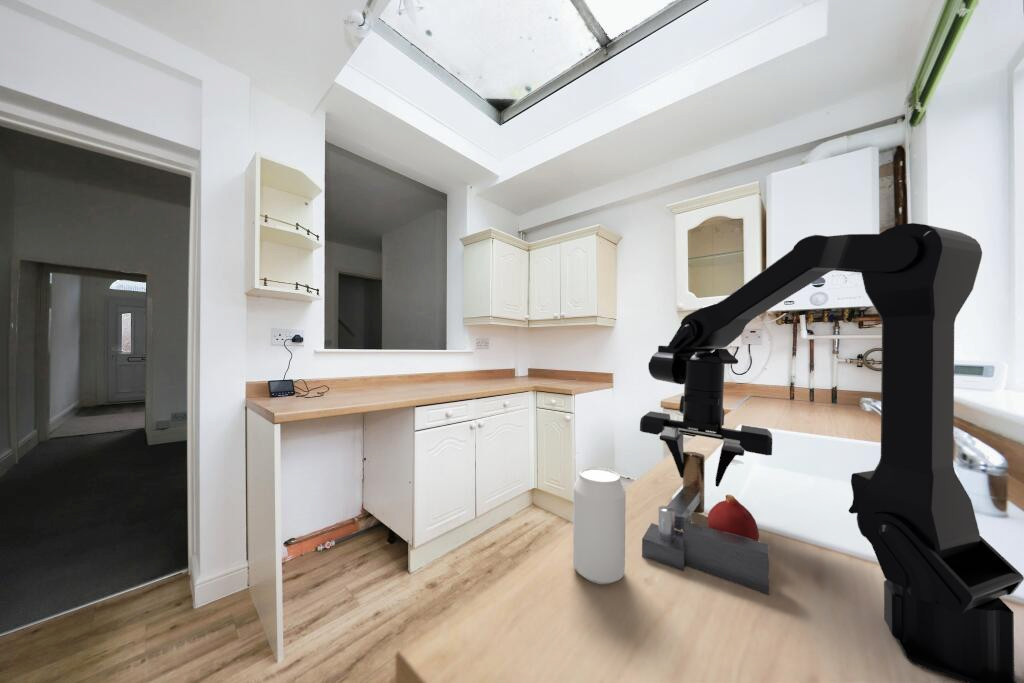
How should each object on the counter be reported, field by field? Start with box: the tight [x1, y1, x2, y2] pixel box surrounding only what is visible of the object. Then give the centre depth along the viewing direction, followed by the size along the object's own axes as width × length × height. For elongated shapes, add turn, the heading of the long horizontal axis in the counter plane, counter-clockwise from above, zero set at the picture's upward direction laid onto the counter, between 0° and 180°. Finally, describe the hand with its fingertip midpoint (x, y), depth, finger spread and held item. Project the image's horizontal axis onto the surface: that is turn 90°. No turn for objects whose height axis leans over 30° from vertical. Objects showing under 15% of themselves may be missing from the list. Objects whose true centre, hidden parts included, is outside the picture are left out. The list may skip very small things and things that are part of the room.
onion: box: [706, 494, 760, 542], centre depth 46 cm, size 6×6×8 cm
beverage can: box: [572, 467, 627, 585], centre depth 42 cm, size 6×6×12 cm
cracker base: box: [641, 505, 770, 596], centre depth 43 cm, size 14×5×6 cm, turn 54°
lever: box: [667, 451, 706, 531], centre depth 53 cm, size 14×3×9 cm, turn 140°
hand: (699, 481), depth 57 cm, fingers open, 5 cm apart
